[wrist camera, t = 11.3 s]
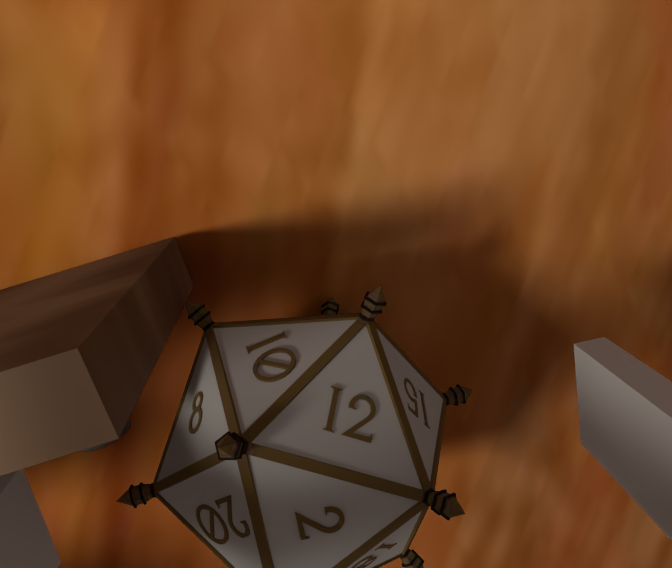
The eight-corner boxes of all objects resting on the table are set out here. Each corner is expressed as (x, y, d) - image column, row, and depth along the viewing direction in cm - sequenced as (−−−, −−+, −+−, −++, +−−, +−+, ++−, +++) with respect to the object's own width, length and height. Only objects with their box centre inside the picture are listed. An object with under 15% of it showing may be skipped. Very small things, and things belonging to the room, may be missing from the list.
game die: (299, 385, 23) (243, 680, 17) (143, 258, 18) (-19, 609, 12) (515, 335, 19) (547, 709, 13) (387, 148, 14) (333, 615, 8)
